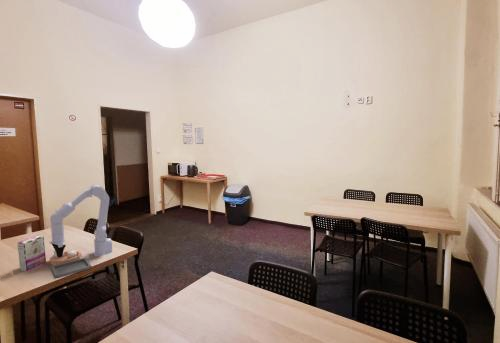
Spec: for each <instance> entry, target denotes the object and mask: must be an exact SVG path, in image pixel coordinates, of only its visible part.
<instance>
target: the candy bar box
mask: <svg viewBox="0 0 500 343" xmlns="http://www.w3.org/2000/svg"><path fill="white" fill-rule="evenodd" d="M45 247H46V246H45V236H44V235H36V236H32V237H30V238H26V239H24V240H20V241H18V242H17V255H18V261H19V271H23V272H29V271H30V270H32V269H33V270H34V268H37V267H39V266H42V265H44V264H45V263H47V260H46V259H47V258H46V249H45Z"/></svg>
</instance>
